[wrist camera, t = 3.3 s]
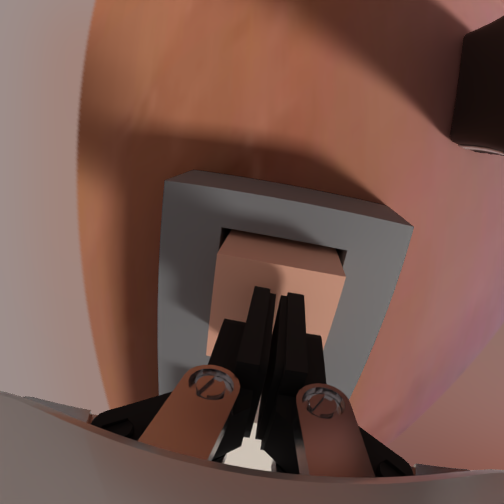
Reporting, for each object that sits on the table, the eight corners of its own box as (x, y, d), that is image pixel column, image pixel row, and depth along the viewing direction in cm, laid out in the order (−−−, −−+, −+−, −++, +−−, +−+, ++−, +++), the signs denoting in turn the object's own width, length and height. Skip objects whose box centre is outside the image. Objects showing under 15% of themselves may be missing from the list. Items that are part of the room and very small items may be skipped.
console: (288, 473, 24) (285, 509, 20) (178, 453, 25) (166, 487, 21) (386, 205, 16) (413, 226, 12) (193, 169, 16) (164, 180, 12)
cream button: (278, 431, 18) (275, 472, 15) (209, 419, 18) (197, 458, 15) (294, 384, 17) (293, 428, 14) (214, 369, 17) (200, 411, 14)
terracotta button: (311, 331, 15) (314, 374, 12) (221, 315, 15) (206, 355, 12) (334, 246, 14) (346, 276, 11) (233, 227, 14) (217, 253, 11)
